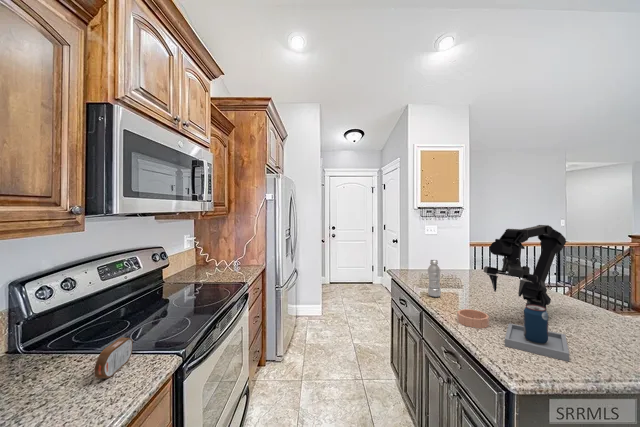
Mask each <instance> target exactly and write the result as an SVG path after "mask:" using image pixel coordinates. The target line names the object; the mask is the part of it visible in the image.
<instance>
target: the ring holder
mask: <svg viewBox="0 0 640 427" xmlns="http://www.w3.org/2000/svg"><path fill="white" fill-rule="evenodd" d="M456 312H457V313H456V319H457V322H458V323H459V324H461V325H463V326H466V327H469V326H470V327H469V328H473V327H475V328H474V329H484V328H488V327H489V326H490V316H489V315H488V314H487V313H486V312H483V311H481V310H476V309H470V308H469V309H468V308H463V309H459V310H457V311H456Z"/></svg>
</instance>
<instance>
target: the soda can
mask: <svg viewBox="0 0 640 427" xmlns="http://www.w3.org/2000/svg"><path fill="white" fill-rule="evenodd" d="M523 326H524V336H525V338H526V339H527V340H528V341H530V342H532V343H536V344H545V343H546V342H547V341H548V331H549V314H548V311H547V307H546V308H544V307H542V306H538V305H526V304H525V308H524V309H523Z"/></svg>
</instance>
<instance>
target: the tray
mask: <svg viewBox="0 0 640 427" xmlns="http://www.w3.org/2000/svg"><path fill="white" fill-rule="evenodd" d="M505 332H506V334H505V337H504V347H508V348H510V349H511V348H513V349H516V350H520V351H525V352H528V353H532V354H537V355H540V356H545V357H549V358H552V359H553V358H554V359H557V360H561V361H564V362H570V350H569V347H568V341H567V337H566V334H565V333H560V332H556V331H551V330H548V341H547V342H546V343H545V344H536V343H532V342H530V341H528V340H527V339H526V338H525V336H524V325H521V324H516V323H511V322H508V325H507V329H506V331H505Z"/></svg>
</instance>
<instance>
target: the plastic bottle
mask: <svg viewBox="0 0 640 427" xmlns="http://www.w3.org/2000/svg"><path fill="white" fill-rule="evenodd" d="M429 263H430V265H429V266H428V268H427V274H428V275H427V276H428V289H427V293H428V296H430V297H432V298H438V297H439V298H440V296H441V295H442V290H441V284H440V280H441V279H440V278H441V277H440V276H441V268H440V266H439V265H438V264H439V263H438V260H437V259H430V262H429Z"/></svg>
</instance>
